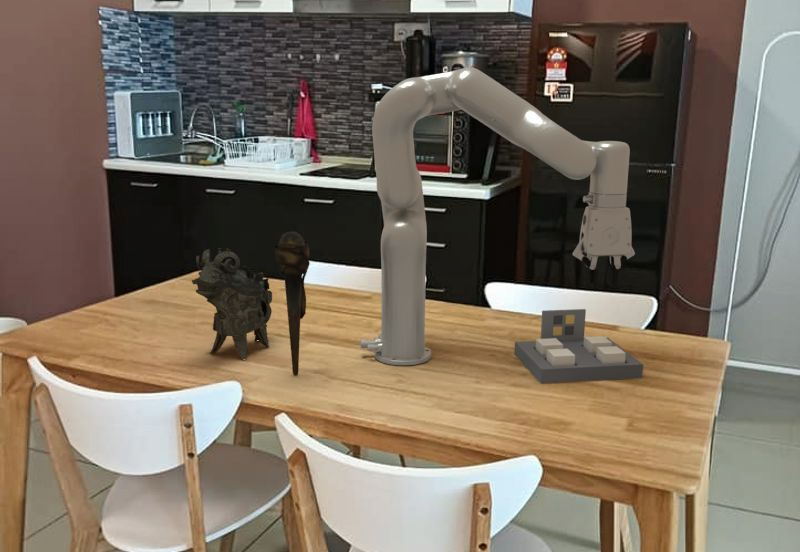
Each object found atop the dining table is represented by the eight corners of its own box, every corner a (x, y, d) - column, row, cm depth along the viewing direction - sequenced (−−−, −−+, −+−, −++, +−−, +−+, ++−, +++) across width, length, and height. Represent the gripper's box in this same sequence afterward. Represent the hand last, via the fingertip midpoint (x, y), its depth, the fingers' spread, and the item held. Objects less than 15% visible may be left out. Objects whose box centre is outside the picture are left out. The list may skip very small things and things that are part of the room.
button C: (542, 356, 177) (542, 345, 176) (535, 349, 181) (536, 339, 181) (562, 355, 178) (563, 344, 177) (555, 348, 182) (555, 338, 182)
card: (541, 341, 186) (543, 311, 184) (540, 340, 186) (542, 310, 185) (584, 339, 187) (586, 309, 186) (582, 338, 188) (584, 308, 186)
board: (540, 383, 169) (541, 369, 168) (514, 354, 186) (514, 341, 185) (642, 377, 172) (643, 364, 172) (606, 350, 190) (607, 337, 189)
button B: (604, 365, 172) (605, 354, 172) (595, 357, 176) (596, 347, 176) (624, 364, 173) (625, 353, 172) (615, 356, 177) (616, 346, 177)
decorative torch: (298, 382, 168) (296, 236, 161) (271, 376, 171) (267, 233, 164) (318, 372, 173) (316, 231, 166) (291, 366, 177) (288, 228, 170)
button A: (553, 367, 170) (554, 356, 170) (546, 360, 175) (546, 349, 174) (574, 366, 171) (575, 355, 170) (566, 359, 175) (567, 348, 175)
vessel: (181, 365, 176) (177, 251, 173) (250, 340, 199) (247, 239, 195) (224, 371, 172) (220, 254, 168) (289, 345, 194) (287, 241, 190)
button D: (591, 354, 179) (591, 343, 178) (583, 347, 183) (584, 337, 183) (610, 353, 180) (611, 342, 179) (602, 346, 184) (603, 336, 183)
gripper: (576, 204, 169) (571, 291, 173) (652, 203, 171) (645, 289, 176) (563, 199, 176) (558, 283, 180) (636, 197, 179) (630, 280, 183)
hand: (601, 285), depth 178 cm, fingers open, 3 cm apart
